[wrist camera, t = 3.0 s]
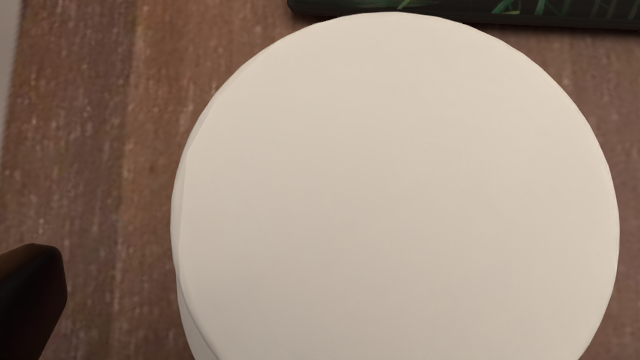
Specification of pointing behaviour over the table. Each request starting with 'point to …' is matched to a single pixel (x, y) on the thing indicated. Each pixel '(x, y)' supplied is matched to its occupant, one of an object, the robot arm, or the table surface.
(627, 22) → the smartphone
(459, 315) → the pill bottle
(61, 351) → the table surface
